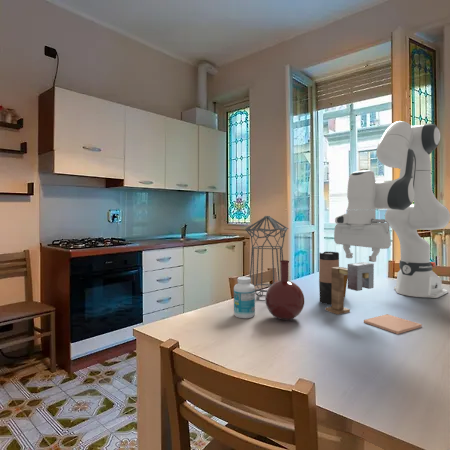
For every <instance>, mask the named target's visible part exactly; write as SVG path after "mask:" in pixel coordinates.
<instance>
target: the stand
mask: <svg viewBox="0 0 450 450" xmlns="http://www.w3.org/2000/svg"><path fill="white" fill-rule="evenodd" d="M341 267H342V266H339V267H332V305H330V306H326V307H325V311H326V312H329V313H332V314H334V315H342V314H343V315H344V314H347V313H350V312H351V309H350V308H347V307H345V303H344V302H345V297H344V274H346V275H348V269H344V268H345V267H344V268H341ZM362 278H369V273H363V274H362Z"/></svg>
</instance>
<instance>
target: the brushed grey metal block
mask: <svg viewBox="0 0 450 450" xmlns="http://www.w3.org/2000/svg"><path fill="white" fill-rule="evenodd" d="M374 265H375V263H374V262H364V261H363V262H355V263H348V264H347V268H348V279H347V289H348V290H350V291H351V290H352V291H355V292H359V291H363V288H364V289H367V290H369V289H374V285H375V283H374V282H375V281H374V279H375V278H374V276H375V275H374V272H375V271H374V270H375V269H374V268H375V267H374ZM363 273H369V278H362V274H363Z"/></svg>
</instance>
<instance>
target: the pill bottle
mask: <svg viewBox="0 0 450 450" xmlns="http://www.w3.org/2000/svg"><path fill="white" fill-rule="evenodd" d="M250 282H251V283H250ZM254 285H255V284H254ZM254 285H253V284H252V277H251V278H250V276H239V277H237V283H236V284H235V285H234V286H233V315H234V316H235V318H239V319H251V318H253V317H255V316H256V315H255V314H256V294H255V289H256V288H255V287H256V286H255V287H254Z"/></svg>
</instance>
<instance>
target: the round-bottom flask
mask: <svg viewBox="0 0 450 450" xmlns="http://www.w3.org/2000/svg"><path fill="white" fill-rule="evenodd" d="M280 263H281V276H280V281H276V282H275V281H274V282H275V283H274V284H273V283H272V285H271V286H269V287H268V288H267V292H265V295H266V296H264V297H265V298H264V300H265V301H264V302H265V306H266V309H267V310H268V312H269V313H270V314H271V315H272V316H273V317H275V318H276V319H279V320H283V321H289V320H293V319H296V318H297V317H298V316H299V315H300V314H301V313H302V311H303V309H304V306H305V295H304V293H303V290H302V289H301V288H300V287H299V285H298V284H296V283H295V282H293V281H290V280H289V264H290V260H285V259H283V260H282V259H281V261H280V260H279V264H280Z"/></svg>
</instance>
